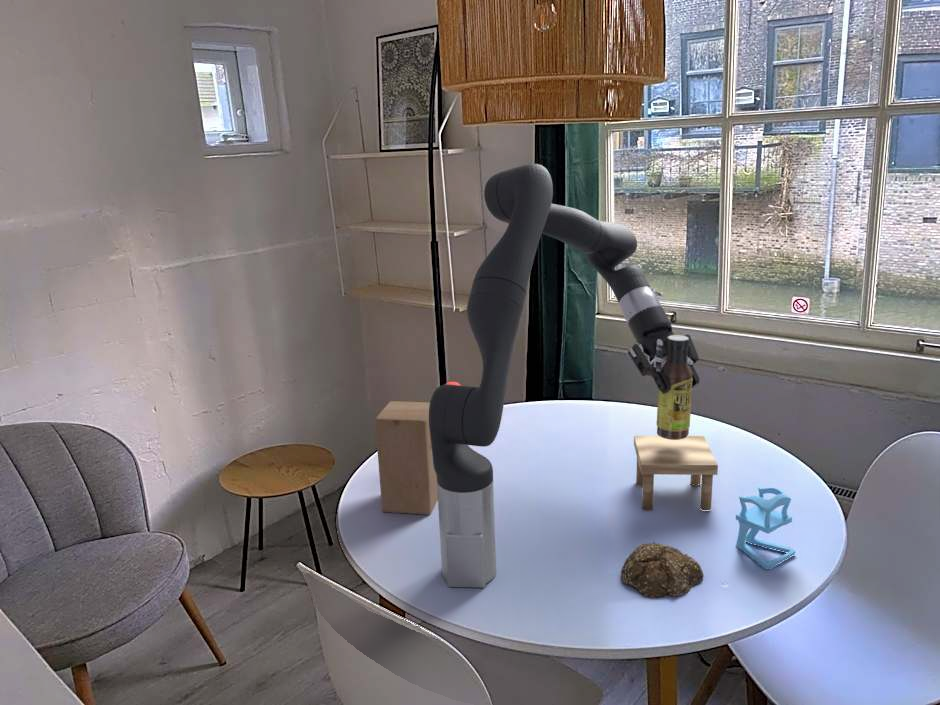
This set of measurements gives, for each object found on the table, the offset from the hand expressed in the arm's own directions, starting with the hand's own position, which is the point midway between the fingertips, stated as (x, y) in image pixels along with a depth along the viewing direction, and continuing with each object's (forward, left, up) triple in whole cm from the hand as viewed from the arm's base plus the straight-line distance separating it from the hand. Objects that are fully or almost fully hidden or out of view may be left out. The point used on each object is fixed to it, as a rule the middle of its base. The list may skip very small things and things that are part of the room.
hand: (681, 388), depth 148 cm
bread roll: (-28, +7, -24) cm, 37 cm away
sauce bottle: (+1, +1, -10) cm, 11 cm away
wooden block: (-3, +53, -23) cm, 58 cm away
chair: (-20, -11, -23) cm, 33 cm away
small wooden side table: (+1, +1, -23) cm, 23 cm away
